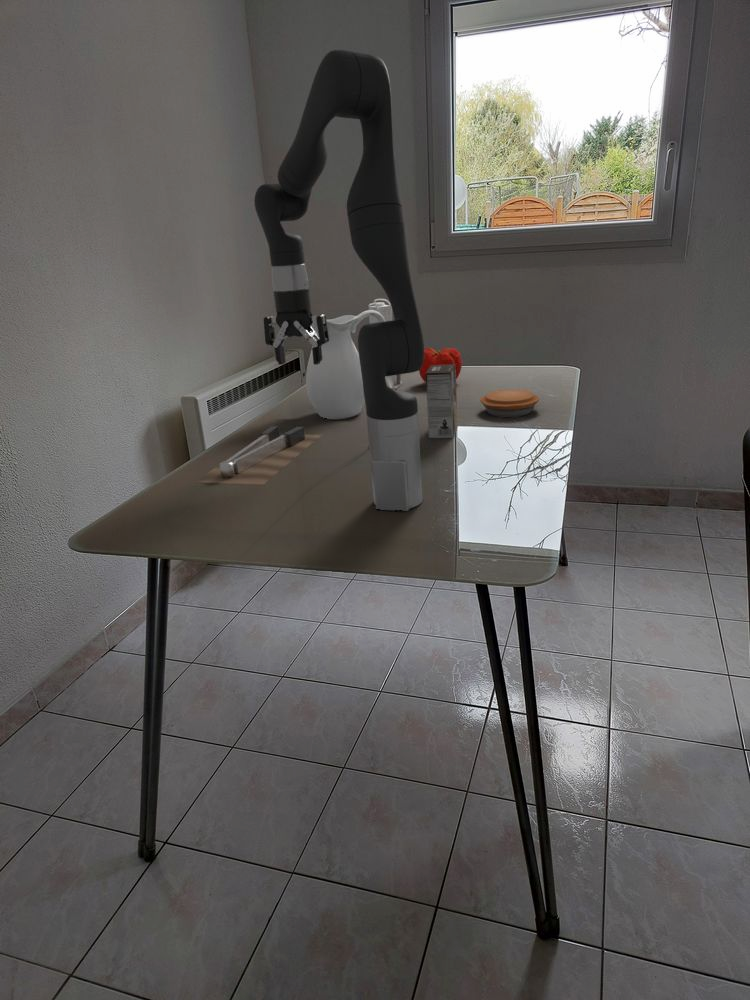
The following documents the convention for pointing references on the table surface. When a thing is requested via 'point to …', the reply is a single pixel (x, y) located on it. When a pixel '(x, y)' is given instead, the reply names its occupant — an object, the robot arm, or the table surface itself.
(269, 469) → the board
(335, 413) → the pitcher
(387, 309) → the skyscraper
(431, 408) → the coffee box
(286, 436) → the arm
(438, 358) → the tomato
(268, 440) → the arm
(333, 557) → the table surface
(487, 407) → the pie
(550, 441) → the table surface
